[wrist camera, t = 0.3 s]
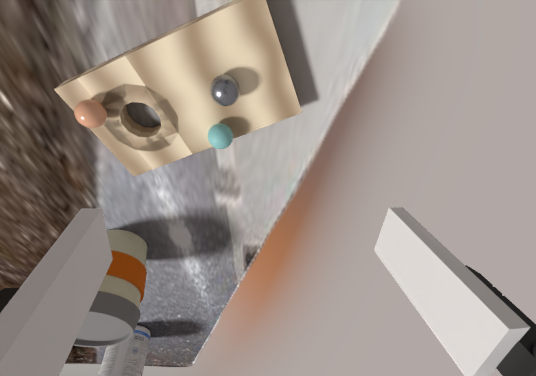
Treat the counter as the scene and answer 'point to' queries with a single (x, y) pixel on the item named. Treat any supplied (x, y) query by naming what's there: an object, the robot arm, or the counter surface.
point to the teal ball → (220, 136)
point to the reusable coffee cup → (117, 294)
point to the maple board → (190, 85)
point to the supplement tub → (127, 355)
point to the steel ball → (224, 90)
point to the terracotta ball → (90, 113)
